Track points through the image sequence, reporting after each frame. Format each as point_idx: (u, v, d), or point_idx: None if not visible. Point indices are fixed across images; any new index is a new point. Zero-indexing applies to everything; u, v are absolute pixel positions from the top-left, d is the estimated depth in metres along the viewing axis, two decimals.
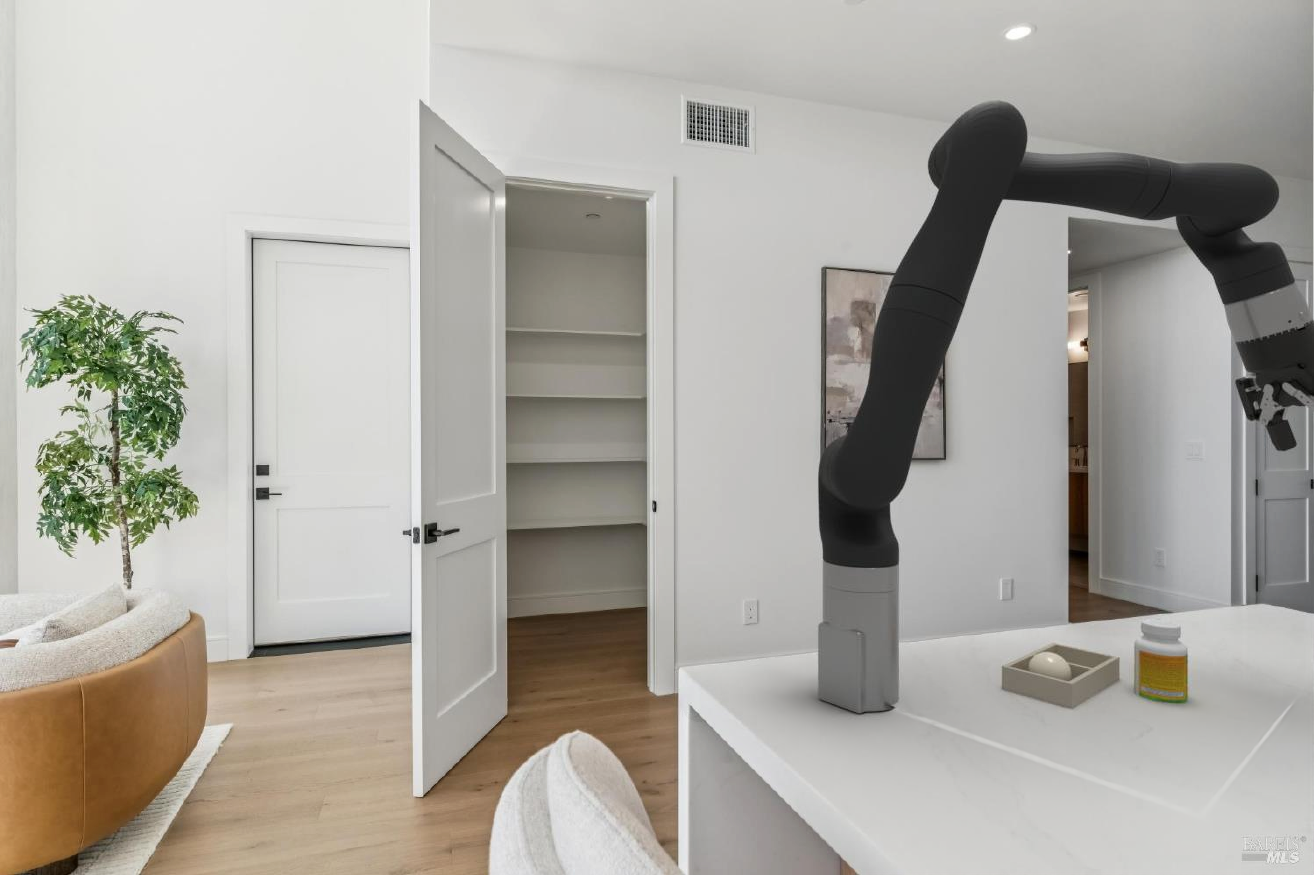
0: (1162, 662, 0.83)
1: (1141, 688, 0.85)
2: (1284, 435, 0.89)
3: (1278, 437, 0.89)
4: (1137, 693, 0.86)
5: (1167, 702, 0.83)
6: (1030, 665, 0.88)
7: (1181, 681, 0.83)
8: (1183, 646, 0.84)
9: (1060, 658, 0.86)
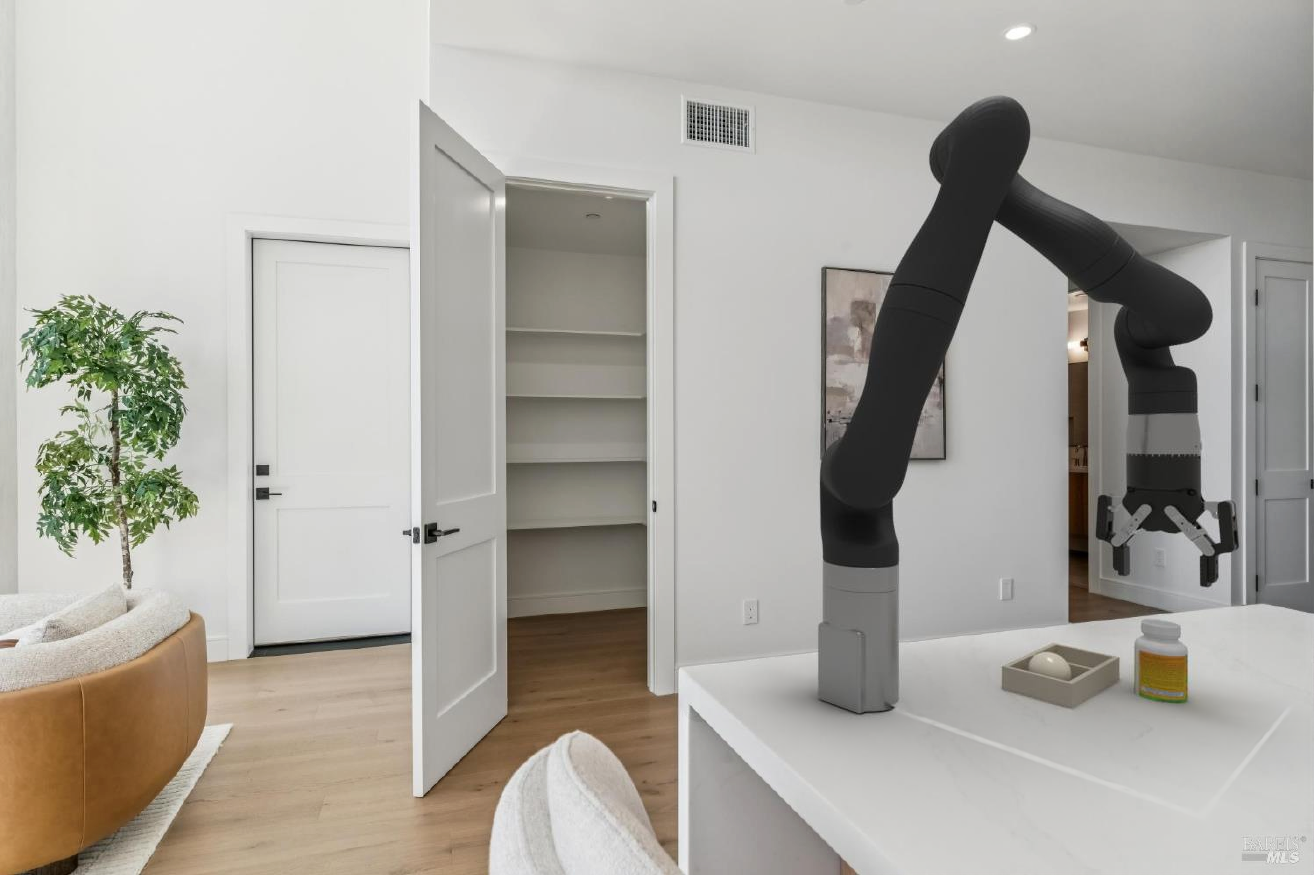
0: (1162, 662, 0.83)
1: (1141, 688, 0.85)
2: (1126, 561, 0.89)
3: (1124, 561, 0.88)
4: (1137, 693, 0.86)
5: (1167, 702, 0.83)
6: (1030, 665, 0.88)
7: (1181, 681, 0.83)
8: (1183, 646, 0.84)
9: (1060, 658, 0.86)
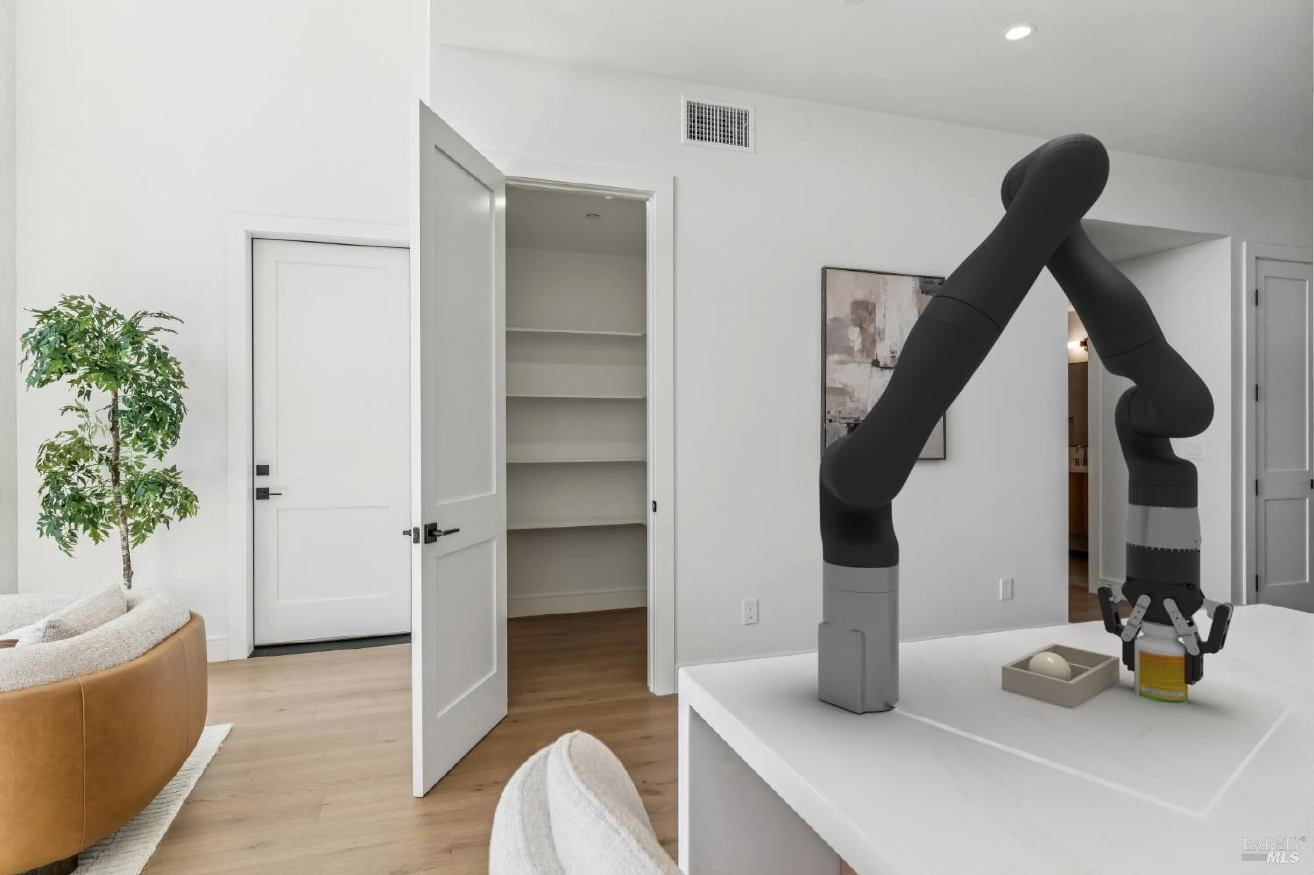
0: (1162, 662, 0.83)
1: (1141, 688, 0.85)
2: None
3: None
4: (1137, 693, 0.86)
5: (1167, 702, 0.83)
6: (1030, 665, 0.88)
7: (1181, 681, 0.83)
8: (1183, 646, 0.84)
9: (1060, 658, 0.86)
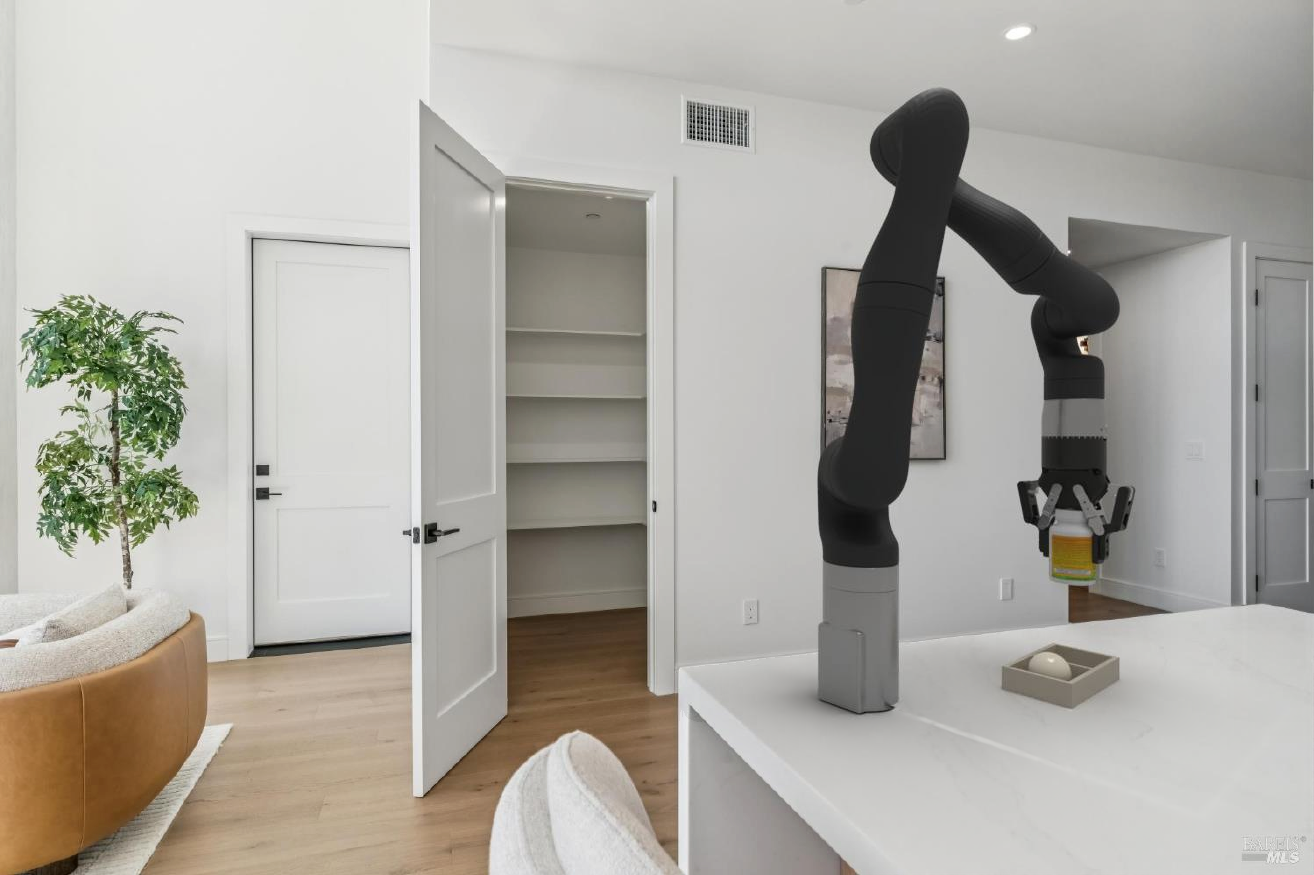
0: (1071, 543, 0.89)
1: (1053, 570, 0.91)
2: None
3: None
4: (1050, 575, 0.92)
5: (1075, 580, 0.89)
6: (1030, 665, 0.88)
7: (1088, 560, 0.89)
8: (1091, 528, 0.90)
9: (1060, 658, 0.86)
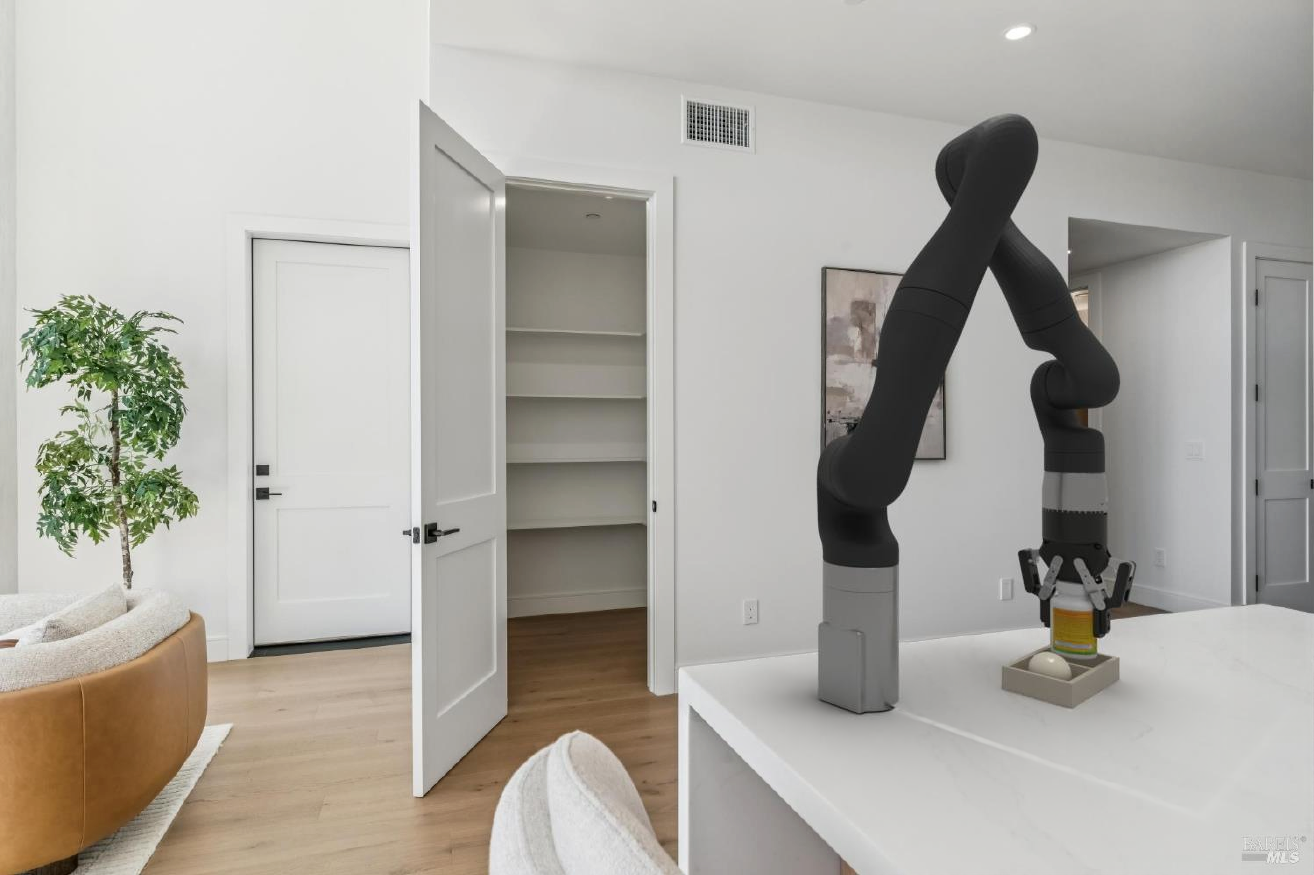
0: (1072, 617, 0.89)
1: (1055, 642, 0.91)
2: None
3: None
4: (1052, 647, 0.92)
5: (1077, 654, 0.89)
6: (1030, 665, 0.88)
7: (1090, 634, 0.89)
8: (1092, 602, 0.90)
9: (1060, 658, 0.86)
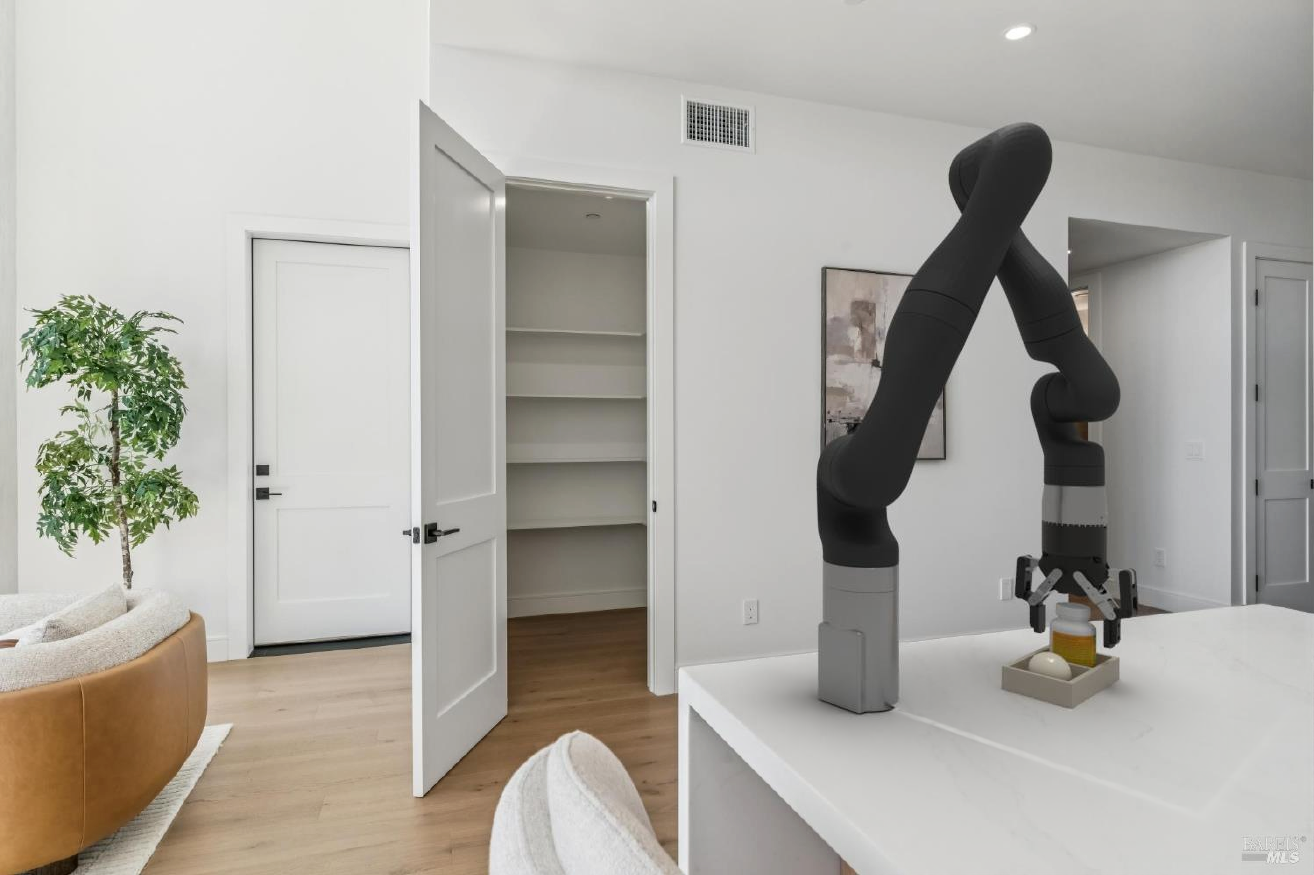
0: (1072, 642, 0.89)
1: None
2: (1042, 619, 0.95)
3: (1039, 619, 0.95)
4: None
5: None
6: (1030, 665, 0.88)
7: (1089, 659, 0.89)
8: (1092, 627, 0.90)
9: (1060, 658, 0.86)
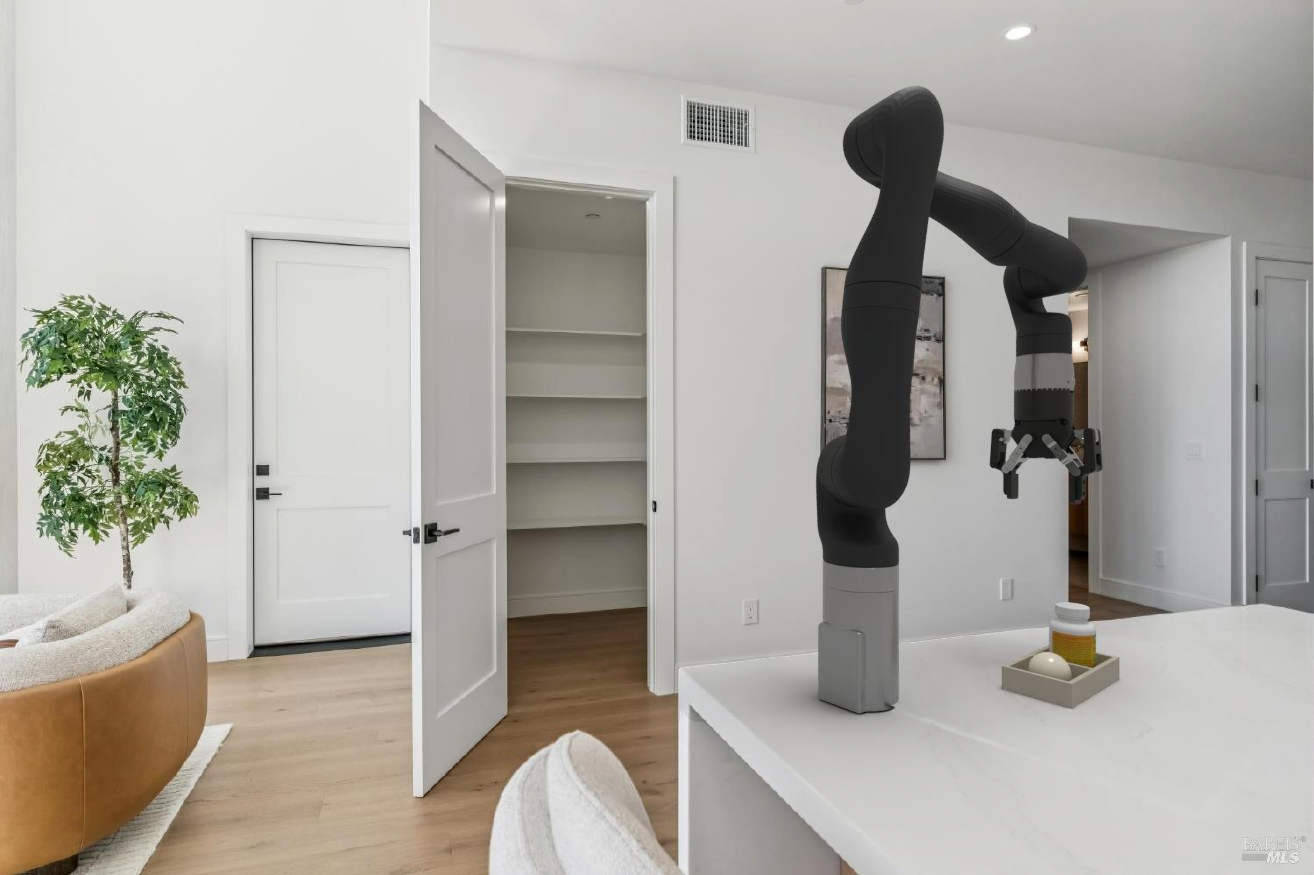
0: (1071, 641, 0.89)
1: None
2: (1014, 486, 1.01)
3: (1012, 485, 1.00)
4: None
5: None
6: (1030, 665, 0.88)
7: (1089, 659, 0.89)
8: (1091, 626, 0.90)
9: (1060, 658, 0.86)
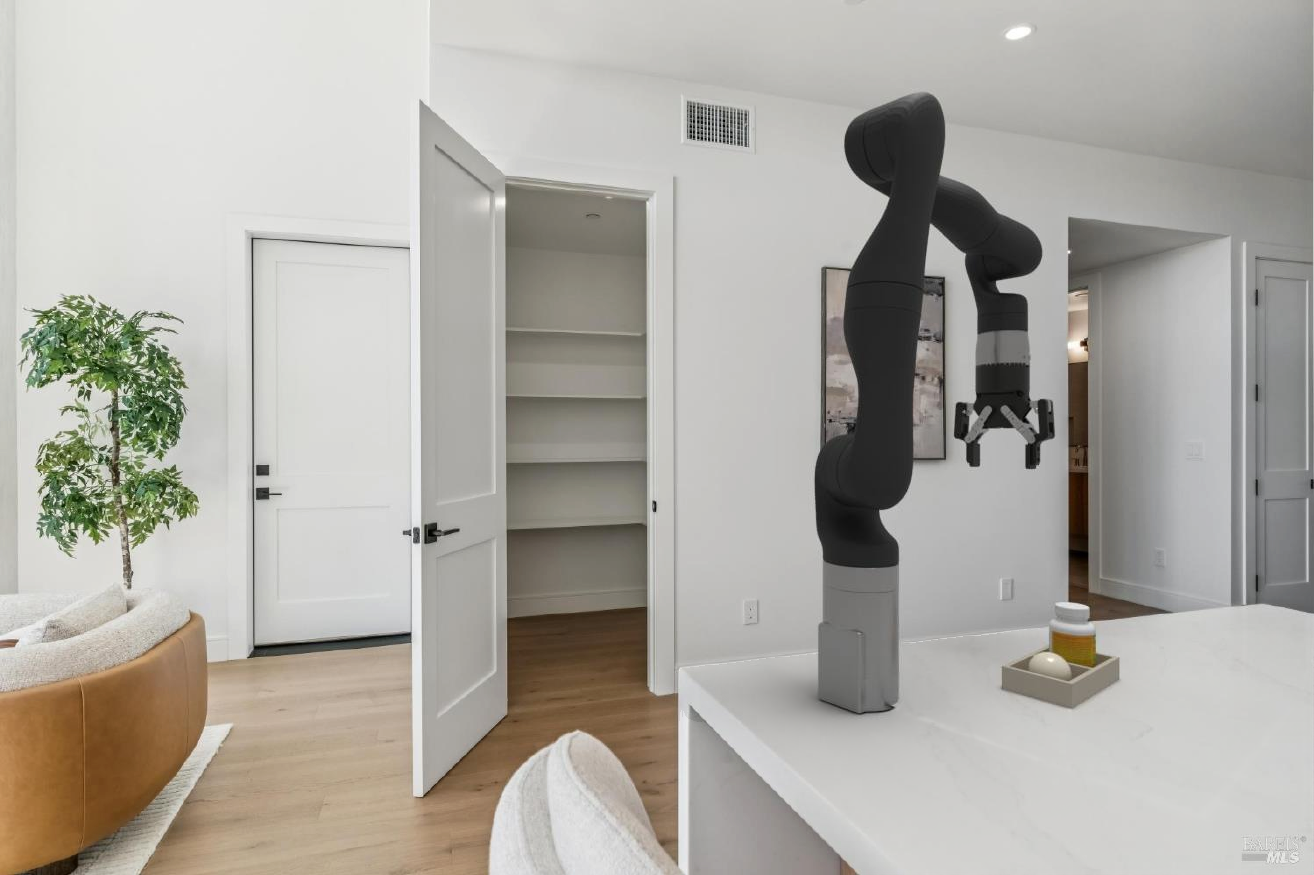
0: (1071, 641, 0.89)
1: None
2: (976, 455, 1.09)
3: (974, 454, 1.08)
4: None
5: None
6: (1030, 665, 0.88)
7: (1089, 659, 0.89)
8: (1091, 626, 0.90)
9: (1060, 658, 0.86)
